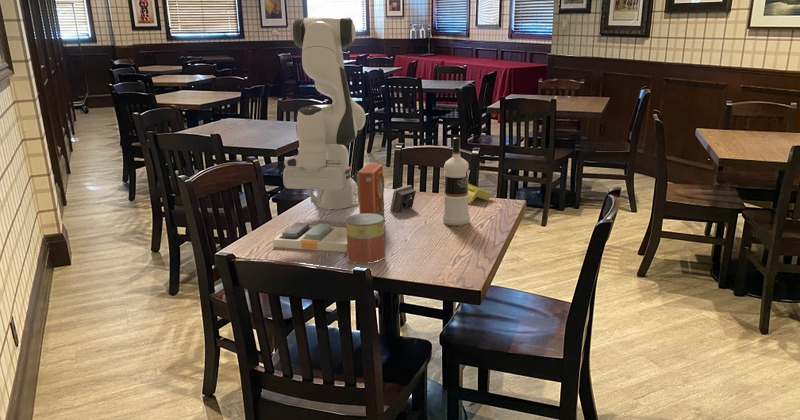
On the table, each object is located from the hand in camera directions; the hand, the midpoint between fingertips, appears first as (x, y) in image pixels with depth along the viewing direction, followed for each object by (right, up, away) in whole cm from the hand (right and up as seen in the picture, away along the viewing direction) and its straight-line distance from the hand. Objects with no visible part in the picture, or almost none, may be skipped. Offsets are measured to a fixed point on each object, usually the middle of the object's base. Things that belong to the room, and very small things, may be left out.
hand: (316, 202), depth 191 cm
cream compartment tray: (0, -13, +3) cm, 13 cm away
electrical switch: (+28, -3, +36) cm, 46 cm away
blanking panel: (0, -12, +3) cm, 13 cm away
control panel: (+17, -9, +15) cm, 25 cm away
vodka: (+46, -7, +20) cm, 51 cm away
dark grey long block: (-7, -12, +5) cm, 15 cm away
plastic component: (+54, +2, +51) cm, 74 cm away
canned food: (+16, -17, -10) cm, 26 cm away
